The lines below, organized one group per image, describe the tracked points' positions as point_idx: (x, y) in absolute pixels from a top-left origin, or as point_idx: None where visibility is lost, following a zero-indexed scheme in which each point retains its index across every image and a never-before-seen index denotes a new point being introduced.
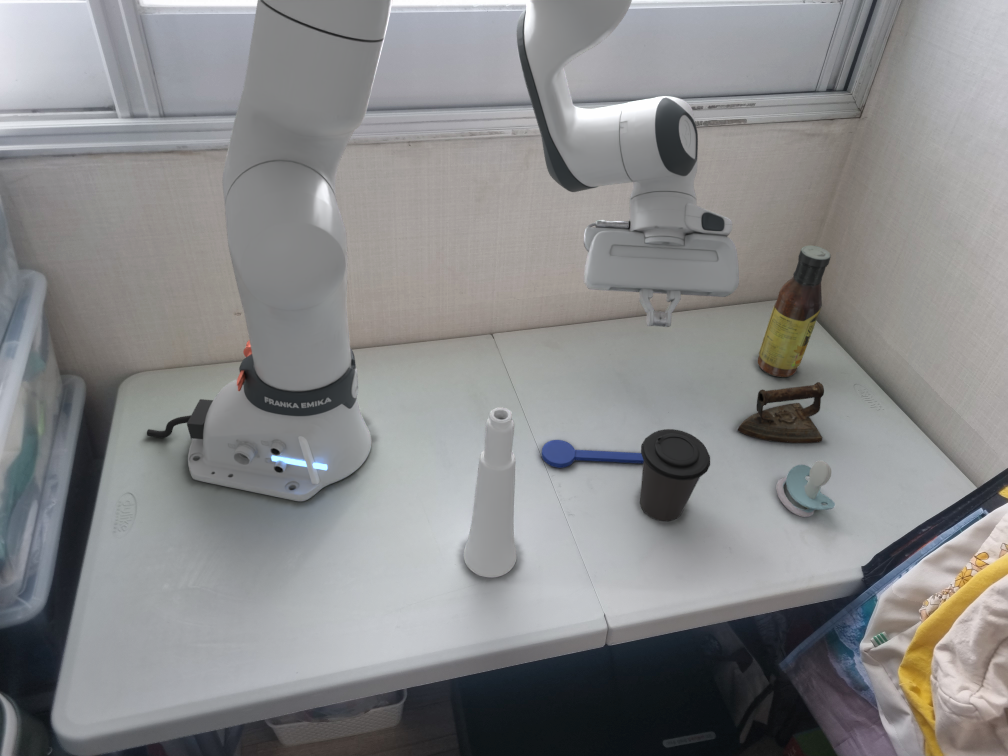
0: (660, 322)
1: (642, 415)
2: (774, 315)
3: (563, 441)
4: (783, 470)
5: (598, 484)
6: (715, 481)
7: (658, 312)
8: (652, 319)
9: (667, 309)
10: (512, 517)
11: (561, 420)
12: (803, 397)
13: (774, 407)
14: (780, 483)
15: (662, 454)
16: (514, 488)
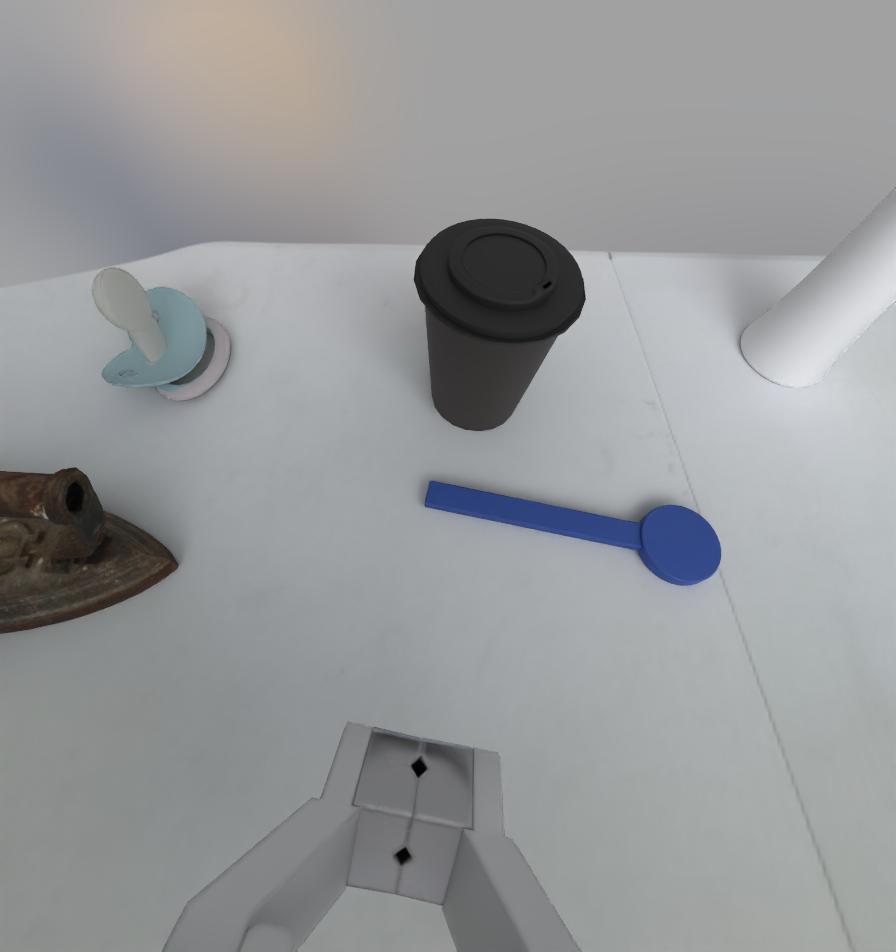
0: (421, 742)
1: (426, 667)
2: None
3: (670, 572)
4: (156, 430)
5: (590, 457)
6: (335, 427)
7: (433, 810)
8: (480, 766)
9: (334, 859)
10: (840, 244)
11: (664, 674)
12: None
13: (2, 598)
14: (200, 382)
15: (548, 253)
16: None
